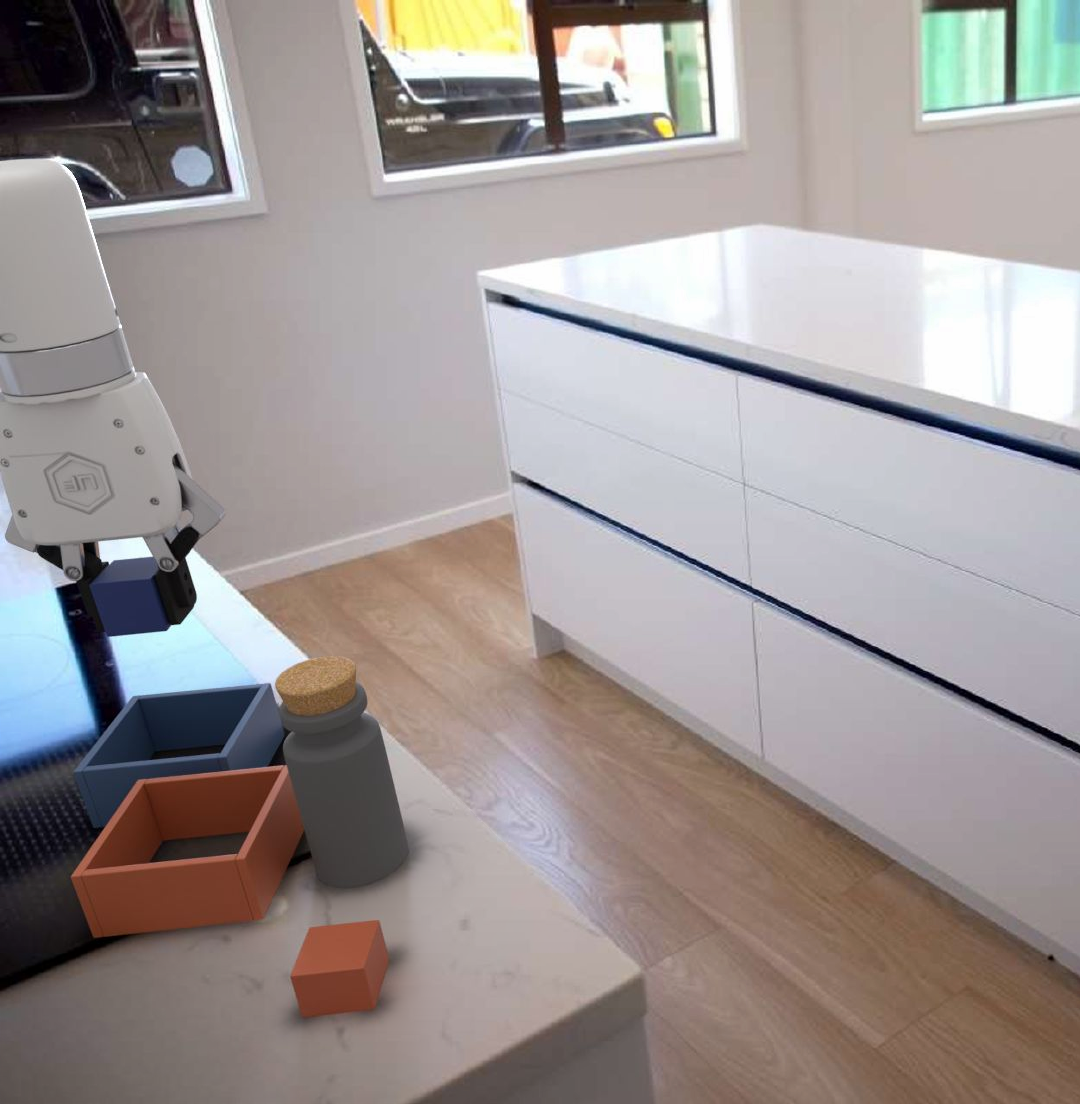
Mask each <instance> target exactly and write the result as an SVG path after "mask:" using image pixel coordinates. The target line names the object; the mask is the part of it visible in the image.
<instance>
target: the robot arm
mask: <svg viewBox="0 0 1080 1104" xmlns="http://www.w3.org/2000/svg"><path fill="white" fill-rule="evenodd" d="M100 255H101V254H100V252H99V249H98V246H97V242H96V238H95V234H94V232H93V228H92V225H91V222H90V219H89V215H88V212H87V209H86V205H85V202H84V199H83V195H82V192H81V190H80V187H79V184H78V181H77V180H76V178H75V176H74V175H73V173H72V172H71V171H70V169H68V167H66V166H65V165H64V164H61V163H60V162H58V161H55V160H50V159H45V158H23V159H21V158H20V159H8V160H0V476H1V481H2V484H3V488H4V490H5V495H6V498H7V503H8V505H9V509H10V512H11V517H10V519H9V523H8V524H7V528H6V531H5V533H4V538H5V541H6V542H7V543H9V544H11V545H13V546H15V547H17V548H21V549H23V550H26V551H28V552H31V553H36V554H37V555H38V556H39V557H40V558H41V559H43V560H44V561H46V562H48V563H49V564H52V565H53V566H55V567H57V568H58V569H59V570H62V572H63V575H64V577H65V578H66V579H67V580H69V581H71V582H76V585H77V588H78V592H79V593H80V596H81V599H82V603H83V605H84V608H85V611H86V613H87V615H88V616H89V617H91V618H92V619H93V622H94V625H95V628H96V631H97V632H98V633H106V632H105V629H104V627H103V624H102V621H101V618H100V615H99V612H98V609H97V606H96V603H95V600H94V598H93V595H92V592H91V589H90V586H89V585H90V584H91V583H92V582H93V581H94V580H95V579H96V578H97V577H98V576H99V575H100V574H101V573H102V572H103V571H104V570H105V569H106V568H107V567H108V566H109V565H110V563H109V561H103V560H102V558H101V552H100V546H99V542H106V541H119V540H128V539H137V538H142V539H143V541H144V543H145V544H146V546H147V548H148V550H149V552H150V554H151V555H152V556H151V557H154V559H155V561H156V563H157V565H158V568H159V570H158V571H157V572H156V573H155V575H154V580H155V583H156V586H157V589H158V592H159V595H160V599H161V602H162V605H163V608H164V611H165V614H166V617H167V620H168V623H169V624H171V626H179V625H181V624H182V623H184V621H185V620H186V618H187V617H188V616H189V614H190V613H191V612H192V611H193V609H194V608H195V605H196V603H197V600H198V594H197V591H196V587H195V584H194V579H193V578H192V574H191V571H190V567H189V565H188V561H187V559H186V557H187V556H188V555H189V554H190V553H191V551H192V550H193V549H194V547H195V546H196V544H198V542H199V540H201V539H202V538H203V537H204V536H206V535H207V534H208V533H209V532H210V531H212V530H213V529H214V528H216V527H217V526H218V525H219V524H220V522H222V520H223V519H224V518H225V516H226V515H227V511H226V509H225V508H224V507H223V506H222V505H221V504H220V503H219V502H218V501H217V500H216V499H215V498H214V497H212V496H211V495H210V493H208V492H207V491H206V490H205V489H203V488H202V487H201V486H200V485H199V484H198V483H197V482H196V481H195V480H194V479H193V475H192V473H191V470H190V467H189V463H188V460H187V458H186V456H185V452H184V449H183V447H182V444H181V442H180V439H179V437H178V434H177V433H176V430H175V428H174V426H173V423H172V421H171V418H170V416H169V414H168V412H167V410H166V408H165V406H164V404H163V402H162V400H161V398H160V397H159V394H158V393H157V391H156V389H155V388H154V385H153V384H152V382H151V381H150V379H149V377H148V376H147V374H146V373H145V372H142V371H136V369H135V367H134V363H133V360H132V357H131V353H130V350H129V346H128V343H127V340H126V337H125V333H124V330H123V327H122V325H121V321H120V317H119V314H118V310H117V308H116V304H115V301H114V297H113V294H112V291H111V288H110V284H109V282H108V279H107V275H106V272H105V268H104V265H103V262H102V258H101V256H100ZM185 511H189V513H191V514H192V519H191V520H190V521H188V522H187V523H186V524H185V525H184V526H183V527H181V526H180V523H179V521H180V520H181V518H182V513H183V512H185Z"/></svg>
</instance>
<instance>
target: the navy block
mask: <svg viewBox="0 0 1080 1104" xmlns="http://www.w3.org/2000/svg"><path fill="white" fill-rule="evenodd" d="M158 570H159V568H158V565H157V563H156V561H155V559H154V557H153V556H144V557H135V558H134V557H133V558H124V559H123V558H122V559H114V560H112V562H110V563H109V566H108V567H107V568H106V569H105V570H104V571H103V572H102V573H101V574H100V575H99V576H98V577H97V578H96V579H95V580H94V581H93V582H92V583H91V584H90V585H89V586H90V589H91V592H92V595H93V598H94V600H95V603H96V606H97V609H98V612H99V615H100V618H101V621H102V624H103V627H104V629H105V632H104V633H105V636H106V637H107V638H112V637H122V636H131V635H133V636H134V635H140V634H141V635H142V634H152V633H161V632H163V633H164V632H168V630H169V629H170V628H171V626H172V625H171V624H169V623H168V620H167V617H166V614H165V611H164V608H163V605H162V602H161V599H160V595H159V592H158V589H157V586H156V583H155V580H154V575H155V573H156V572H157V571H158Z"/></svg>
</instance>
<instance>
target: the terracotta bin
mask: <svg viewBox="0 0 1080 1104" xmlns="http://www.w3.org/2000/svg"><path fill="white" fill-rule="evenodd" d="M304 832H305V830H304V827H303V823H302V820H301V816H300V813H299V809H298V805H297V802H296V798H295V794H294V791H293V787H292V783H291V780H290V776H289V772H288V769H287V765H286V764H285V765H273V766H268V767H263V768H253V769H243V770H233V771H223V772H213V773H203V774H193V775H183V776H173V777H163V778H153V779H142V780H138V781H137V782H136V784H135V785H134V786H133V788H132V789H131V791H130V792H129V794H128V795H127V797H126V798H125V799H124V801H123V802H122V804H121V805H120V807H119V808H118V809H117V811H116V812H115V814H114V815H113V817H112V818H111V820H110V821H109V822H108V824H107V825H106V827H103V830H102V831H101V833H100V834H99V836H98V837H97V838H96V839H95V841H94V842H93V844H92V845H91V847H90V848H89V849H88V851H87V852H86V854H85V855H84V857H83V858H82V860H81V861H80V862H79V864H78V866H77V867H76V868H75V870H74V871H73V873H72V874H71V876H70V880H71V882H72V885H73V887H74V890H75V892H76V895H77V898H78V901H79V903H80V906H81V909H82V911H83V914H84V917H85V919H86V922H87V925H88V927H89V930H90V932H91V934H92V937H93V939H97V938H104V937H105V938H106V937H115V936H124V935H134V934H143V933H152V932H160V931H161V932H162V931H169V930H178V929H187V928H197V927H207V926H208V927H209V926H215V925H225V924H234V923H242V922H243V923H244V922H252V921H263V920H264V919H265V917H266V914H267V912H268V910H269V908H270V906H271V904H272V901H273V899H274V897H275V895H276V893H277V891H278V888H279V886H280V884H281V882H282V880H283V877H284V875H285V873H286V870H287V869H288V866H289V864H290V863H291V860H292V858H293V856H294V853H295V851H296V849H297V847H298V845H299V842H300V840H301V838H302V836H303V834H304ZM239 833H241V834H242V833H248V834H247V836H246V838H245V840H244V842H243V844H242V845H241V848H240V849H239V851H238V852H237V853H235V854H224V855H215V856H214V855H213V856H207V857H206V856H205V857H197V858H196V857H195V858H186V859H177V860H167V861H158V862H157V861H156V862H151V860H152V859H153V857H154V855H155V854H156V852H158V851H157V850H158V849H159V847H160V846H161V844H162V843H163V841H173V840H181V839H182V840H183V839H191V838H192V839H193V838H200V837H202V838H203V837H211V836H220V835H221V836H222V835H230V834H239Z"/></svg>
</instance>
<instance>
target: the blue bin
mask: <svg viewBox="0 0 1080 1104" xmlns="http://www.w3.org/2000/svg"><path fill="white" fill-rule="evenodd" d="M284 730H285V729H284V726H283V725H282V722H281V719H280V715H279V707H278V705H277V702H276V697H275V694H274V690H273V686H272V683H271V682H265V683H255V684H254V683H253V684H244V685H235V686H224V687H223V686H222V687H213V688H203V689H201V688H200V689H192V690H184V691H171V692H162V693H160V692H159V693H151V694H149V693H148V694H141V695H140V694H139V695H133V696H131V698H130V699H129V700H128V701H127V702H126V704H125V706H123V708H122V709H121V711H120V712H119V713H118V714H117V715H116V717H115V718H114V719H113V721H112V722H111V723H110V724H109V726H108V727H107V729H105V731H104V732H103V733H102V734H101V736H100V738H99V739H98V740H97V741H96V742H95V743H94V745H93V746H92V747H91V749H90V750H89V751H88V752H87V754H86V755H85V757H84V758H83V759H82V760H81V761H80V763H78V766H77V767H76V768H75V769H74V770H73V775H74V778H75V781H76V784H77V786H78V789H79V792H80V794H81V798H82V800H83V803H84V806H85V809H86V812H87V814H88V817H89V819H90V822H91V825H92V828H93V829H96V828H97V829H98V828H105V827H106V825H107V824H108V822H109V821H110V820H111V818H112V817H113V815H114V814H115V812H116V811H117V809H118V808H119V807H120V805H121V804H122V802H123V801H124V799H125V798H126V797H127V795H128V794H129V792H130V791H131V789H132V788H133V786H134V785H135V784H136V782H137V781H138V780H142V779H153V778H163V777H173V776H183V775H193V774H203V773H213V772H223V771H233V770H243V769H253V768H263V767H269V765H270V763H271V761H272V759H273V758H274V757H275V754H276V752H277V750H278V748H279V747H280V745H281V744H282V741H283V739H284V737H285V736H286V735H285V731H284ZM222 745H224V747H223V748H222V750H221V752H220V753H219V752H218V753H209V754H200V755H189V756H180V757H179V756H178V757H170V758H159V759H151V758H152V757H153V755H154V754H155V752H161V751H172V750H183V749H191V748H203V747H213V746H222Z"/></svg>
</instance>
